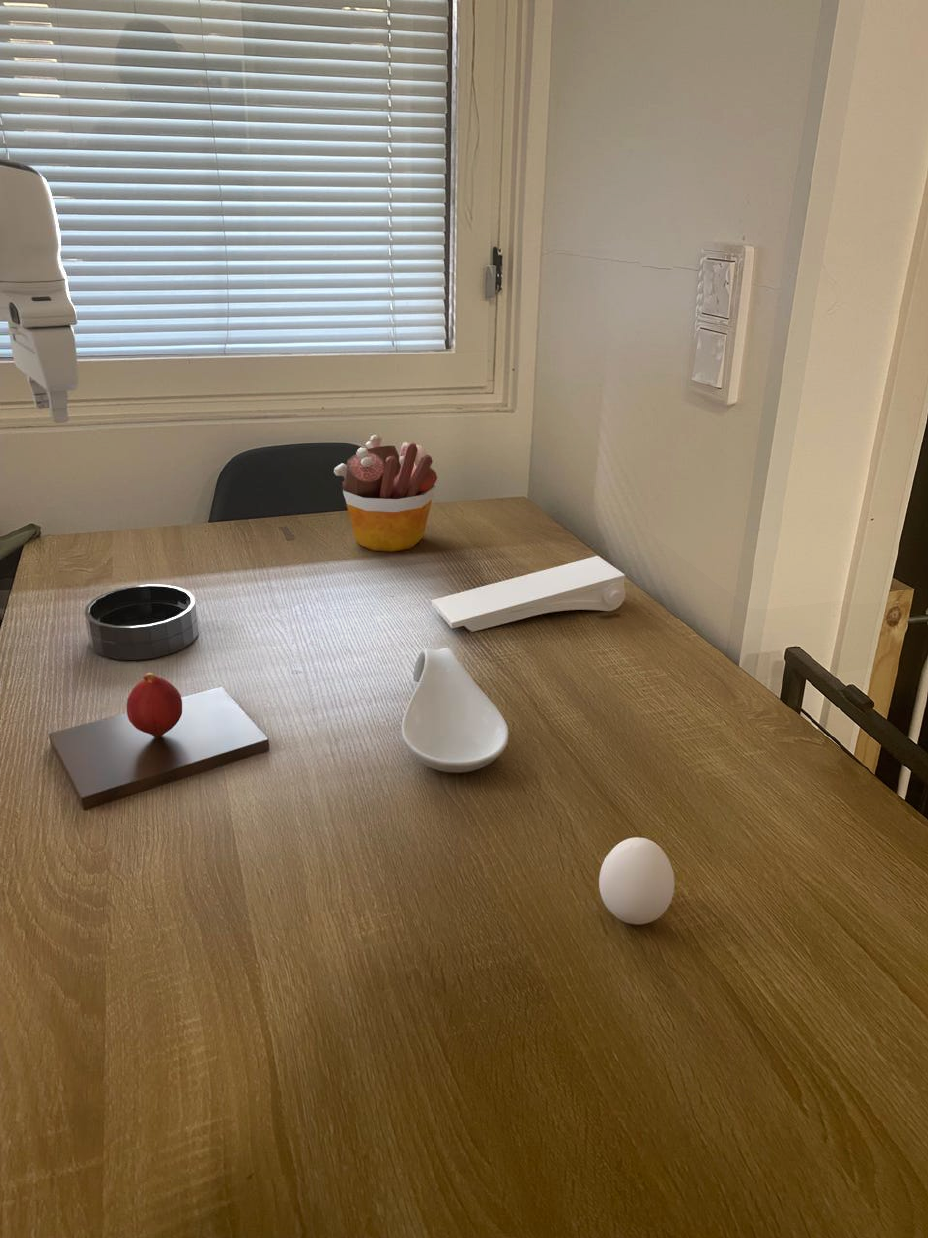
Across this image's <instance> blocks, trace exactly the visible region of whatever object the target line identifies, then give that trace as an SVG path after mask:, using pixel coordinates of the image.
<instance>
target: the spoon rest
mask: <svg viewBox="0 0 928 1238" xmlns="http://www.w3.org/2000/svg"><path fill="white" fill-rule="evenodd" d="M413 669H414V670H413V674H412V680H413V681H414V682H415V683H417V686H416V687H415V689H414V691H413V693H412V695H411V697H410V699H409V702H408V704H407V707H406V709H405V711H404V714H403V718H402V722H401V728H400V729H401V738H402V741H403V743H404V745H405V747H406V748H407V750H408V751H409V752H410V754H411V755H412V756H413V757H414V758H415V759H417V761H419V762H420V763H421V764H423V765H425V766H427V767H429V768H431V769H433V770H437V771H440V772H444V773H453V774H457V773H459V774H461V773H468V772H473V771H476V770H479V769H481V768H484V767H485V766H488V765H489V764H491V763H492V762H494V761H495V760H496V759H498V757H500V756H501V754H502V753H503V752H504V751H505V749H506V747H507V746H508V742H509V738H510V737H509V736H510V735H509V734H510V733H509V728H508V724H507V721H506V720H505V718H504V716H503V715H502V714H501V712H500V710H499V709H498V707H497V706H496V705H495V704H494V703H493V702H492V700H491V699H490V698H489V696H487V695H486V693H485V691H483V690H482V689H481V687H480V686H479V685H478V684H477V683H476V682H475V679H473V678H472V677H471V675H470V674H469V673H468V671H466V669H465V668H464V667H463V665H462V664H461V662H460V661H459V660H458V658H457V656H456V655H455V652H453V650H452V649H451V648H450V647H443V648H437V649H431V648H423V649H422V650H421V651H420V652H419V654H418V656H417V658H416V661H415V663H414V668H413Z"/></svg>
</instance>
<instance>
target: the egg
mask: <svg viewBox="0 0 928 1238" xmlns="http://www.w3.org/2000/svg"><path fill="white" fill-rule="evenodd" d="M598 877H599V878H598V881H599V882H598V887H599V893H600V897H601V899H602V903H603V904H604V905H605V907H606V909H607V910H608V911H609V912H610V913H611V914H612V915H613V916H614V917H615V918H616V919H618V920H620V921H622V922H623V923H626V924H630V925H635V926H638V925H646V924H650V923H652V922H654V921H656V920H658V919H659V918H660V917H661V916H663V915H664V913H666V911H667V910H668V909H669V906H670V905H671V904H672V901H673V897H674V893H675V873H674V869H673V867H672V863H671V861H670V859H669V857H668V856H667V854H666V853H665V851H664V850H663V848H662V847H660V846H659V845H658V844H657V843H656V842H654V841H653V840H650V839H648V838H647V837H646V838H645V837H639V836H638V837H637V836H635V837H629V838H626V839H624V840H622V841H621V842H619V843H618V844H616V845H615V846H614V847H613V848H612V849H611V850H610V851H609V853H608V854H607V855H606V856H605V858H604V860H603V863H602V865H601V867H600V871H599V876H598Z"/></svg>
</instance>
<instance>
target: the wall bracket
mask: <svg viewBox="0 0 928 1238" xmlns="http://www.w3.org/2000/svg"><path fill="white" fill-rule="evenodd" d="M625 581H626V574H625V573H623V572H622V571H621V570H619V569H617V568H616V567H615V566H613V565H611V564H610V563H609V562H607V561H606V560H605V559H603V558H602V557H600V556H599V555H595V556H591V557H588V558H585V559H580V560H577V561H573V562H569V563H565V564H562V565H558V566H555V567H551V568H550V567H549V568H547V569H544V570H539V571H536V572H531V573H529V574H524V575H521V576H516V577H512V578H509V579H506V580H502V581H497V582H494V583H490V584H486V585H483V586H479V587H476V588H475V587H474V588H472V589H468V590H464V591H461V592H456V593H453V594H450V595H446V596H441V597H437V598H434V599H431V606H432V608H434V609H435V611H436V612H437V613H438V614H439V616H440V617H442V619H443V620H444V621H445V622H446V623H447V624H448V626H449V627H450V628H451V629H455V628H459V627H465V628H466V629H467V630H469V631H470V632H471V633H473V632H478V631H481V630H484V629H489V628H492V627H496V626H500V625H504V624H509V623H512V622H516V621H519V620H524V619H527V618H530V617H535V616H538V615H539V616H540V615H543V614H548V613H555V612H556V613H557V612H563V611H575V610H576V611H577V610H578V611H579V610H583V611H584V610H585V611H586V610H587V611H600V612H601V611H603V612H612V611H615V610H616V609H618V608H619V607H620V606H621V605H622V604H623V603H624V601H625V599H626V593H627V592H626V588H625Z"/></svg>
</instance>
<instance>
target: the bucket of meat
mask: <svg viewBox="0 0 928 1238" xmlns="http://www.w3.org/2000/svg"><path fill="white" fill-rule="evenodd" d="M382 440H383V437H382V436H381V435H379V434H374V435H371V436H370V439H369V441H367V442H366V443H365V447H359V448H358V449H357V451H356V453H355V454H353V455H352V456H350V457H349V458H348V459H347V461H346V464H345V463H343V462H342V463H340V464H338V465H337V466H335V467H334V468H333V474H334V475H335V476H336V477H343V479H344V480H343V481H341V483H342V484H341V486H342V494H343V497H344V499H345V504H346V509H347V511H348V515H349V519H350V523H351V528H352V531H353V535H354V539H355V541H356V542H357V544H359V546H361V547H363V548H367V549H369V550H370V551H375V552H399V551H403V550H409V549H412V548H413V547H414V546H415V545H416V544H418V543H419V542H420V541H421V540H422V539H423V537H424V535H425V531H426V526H427V523H428V518H429V515H430V510H431V507H432V506H431V505H432V501H433V498H434V494H435V492H436V485H435V484H436V482H437V480H438V475H437V472H436V471H435V470H434V469H433V468H432V467H431V466H432V465H433V463H434V461H433V458H432V456H431V454H430V455H429V454H427V452H426V449H425V448H424V447H423V446H422V445H421V444H417V443H415V442H408V441H404V442H402V445H401V448H400V453H399V452H398V450H397V448H396V446H395V445H382V446H381V443H382Z"/></svg>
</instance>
